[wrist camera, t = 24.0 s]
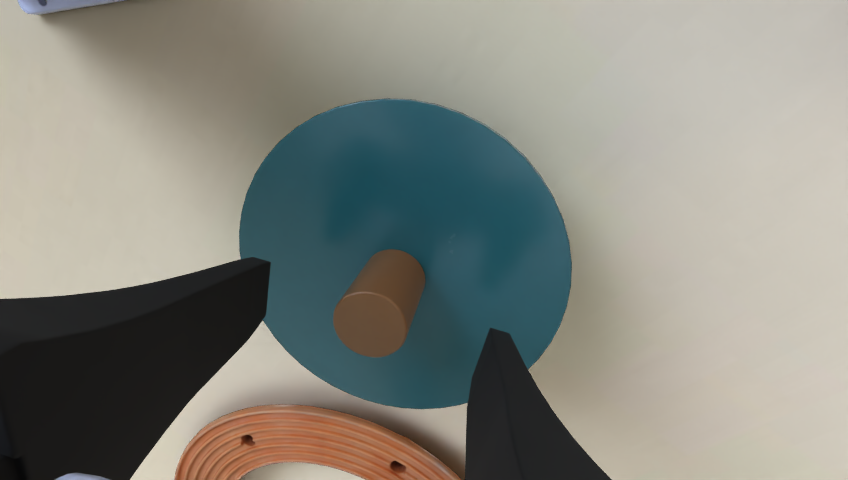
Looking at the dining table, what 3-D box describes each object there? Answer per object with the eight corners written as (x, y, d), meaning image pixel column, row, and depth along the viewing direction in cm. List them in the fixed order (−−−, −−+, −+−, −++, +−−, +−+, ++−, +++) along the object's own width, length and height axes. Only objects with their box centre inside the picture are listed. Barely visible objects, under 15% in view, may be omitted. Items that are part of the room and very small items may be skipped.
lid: (410, 434, 20) (387, 527, 16) (201, 256, 18) (113, 307, 14) (641, 276, 15) (696, 350, 11) (387, 10, 13) (337, -21, 9)
